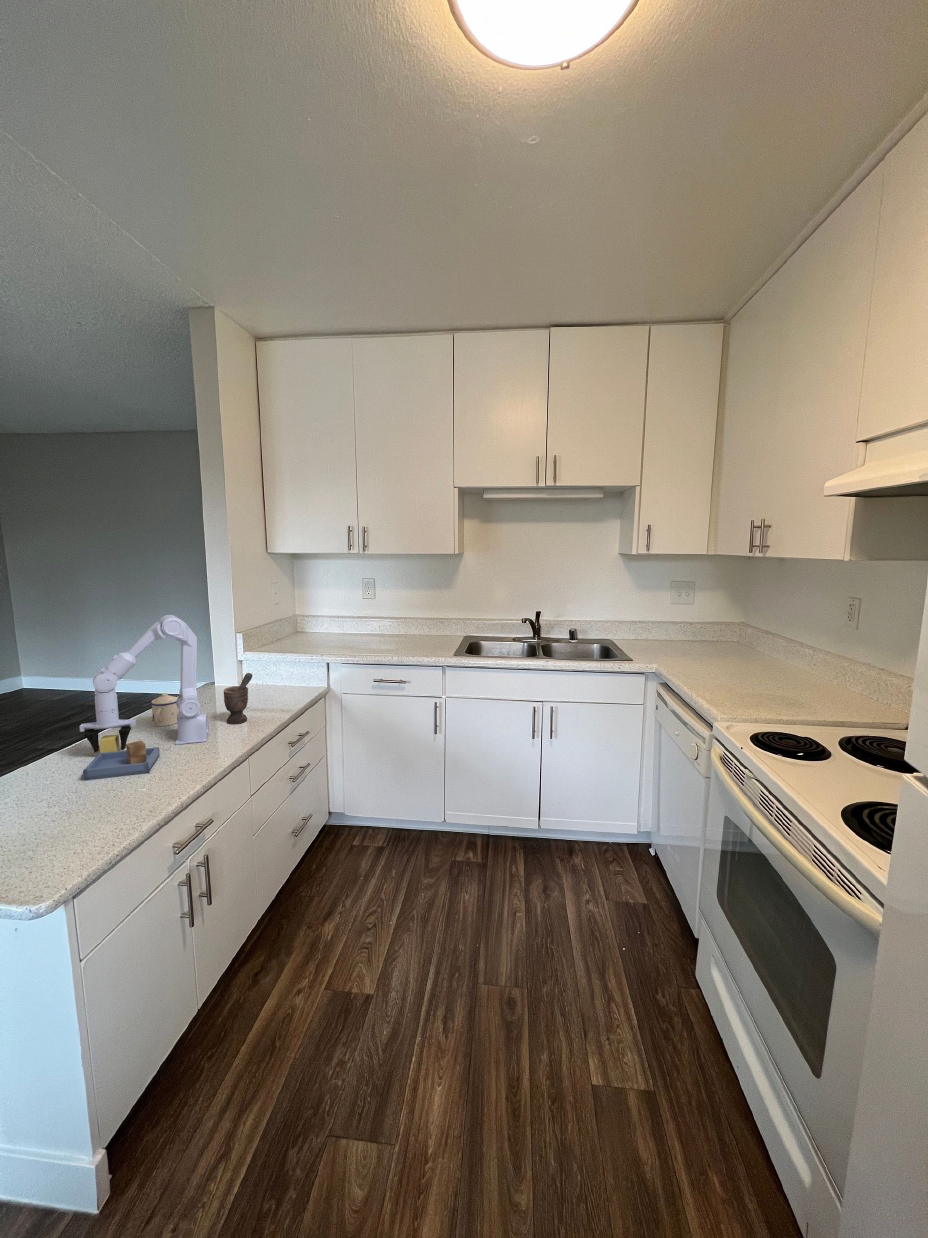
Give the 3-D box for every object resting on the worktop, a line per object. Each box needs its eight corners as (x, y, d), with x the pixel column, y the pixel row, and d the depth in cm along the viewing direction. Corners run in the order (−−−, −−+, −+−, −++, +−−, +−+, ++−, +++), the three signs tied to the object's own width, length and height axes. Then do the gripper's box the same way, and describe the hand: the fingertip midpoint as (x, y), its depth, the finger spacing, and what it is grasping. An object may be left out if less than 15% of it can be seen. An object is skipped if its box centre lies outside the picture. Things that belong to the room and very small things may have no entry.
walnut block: (142, 758, 151) (141, 740, 150) (146, 762, 148) (145, 743, 147) (127, 762, 148) (126, 744, 147) (131, 766, 145) (129, 747, 144)
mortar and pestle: (260, 717, 193) (258, 669, 190) (252, 725, 184) (250, 674, 182) (230, 717, 192) (228, 668, 190) (221, 725, 184) (218, 674, 181)
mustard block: (120, 751, 158) (118, 734, 157) (115, 756, 154) (114, 738, 154) (105, 753, 157) (104, 735, 156) (101, 758, 153) (99, 740, 152)
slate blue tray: (159, 755, 155) (159, 747, 155) (148, 773, 143) (148, 763, 143) (100, 762, 150) (99, 753, 150) (83, 780, 138) (82, 770, 138)
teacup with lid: (158, 719, 189) (156, 690, 187) (183, 718, 191) (182, 689, 189) (144, 730, 177) (142, 699, 176) (171, 729, 179) (169, 698, 177)
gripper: (137, 703, 160) (140, 742, 161) (84, 707, 155) (88, 748, 157) (130, 710, 153) (133, 751, 155) (75, 714, 148) (79, 756, 150)
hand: (110, 750), depth 155 cm, fingers open, 7 cm apart
